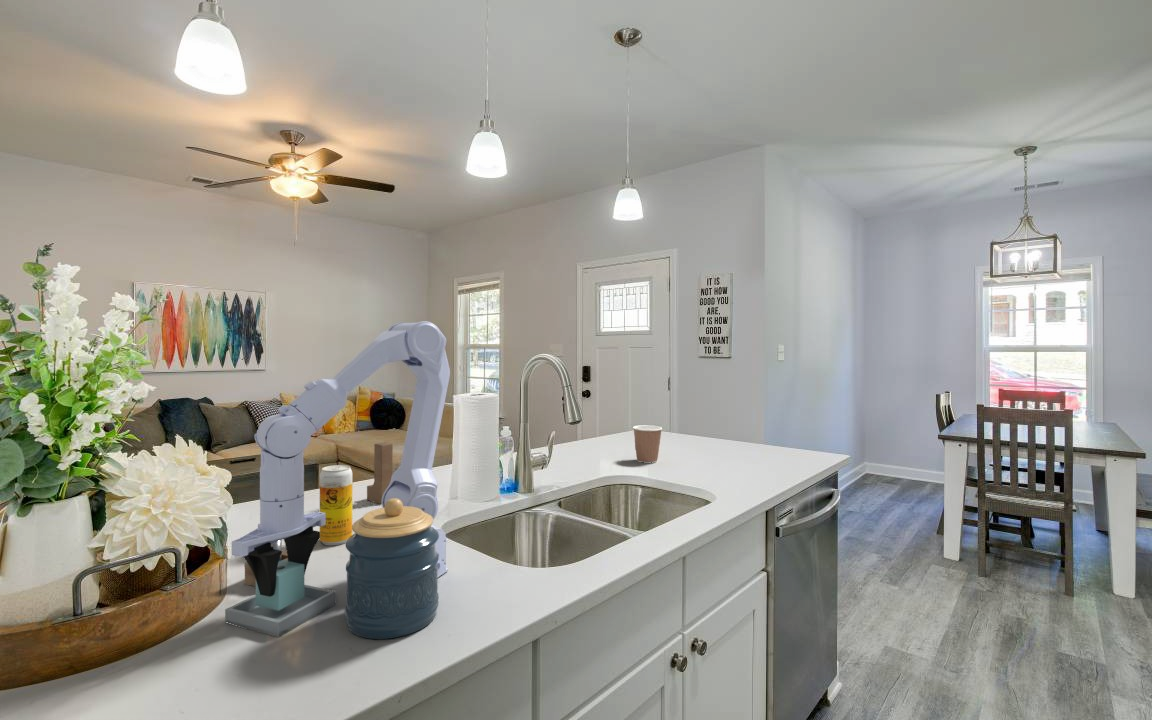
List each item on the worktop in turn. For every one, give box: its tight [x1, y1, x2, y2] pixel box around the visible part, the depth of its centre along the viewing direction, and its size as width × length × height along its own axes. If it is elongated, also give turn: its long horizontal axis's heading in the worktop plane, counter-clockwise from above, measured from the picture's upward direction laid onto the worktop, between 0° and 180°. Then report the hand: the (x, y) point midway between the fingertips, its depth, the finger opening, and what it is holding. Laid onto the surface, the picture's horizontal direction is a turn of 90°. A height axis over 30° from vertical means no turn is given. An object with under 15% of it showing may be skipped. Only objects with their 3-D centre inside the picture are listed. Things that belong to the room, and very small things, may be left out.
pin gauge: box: [271, 539, 283, 561], centre depth 91 cm, size 2×2×7 cm
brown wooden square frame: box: [244, 550, 288, 587], centre depth 91 cm, size 6×6×4 cm
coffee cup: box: [632, 424, 663, 464], centre depth 190 cm, size 10×10×12 cm
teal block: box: [255, 560, 305, 611], centre depth 80 cm, size 4×4×5 cm
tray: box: [224, 584, 337, 638], centre depth 80 cm, size 10×10×2 cm
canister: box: [344, 498, 439, 640], centre depth 79 cm, size 13×13×18 cm
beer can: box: [319, 464, 353, 546], centre depth 109 cm, size 6×6×15 cm
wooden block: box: [366, 441, 394, 505], centre depth 138 cm, size 7×3×15 cm, turn 53°
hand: (282, 587), depth 80 cm, fingers closed on teal block, 4 cm apart
